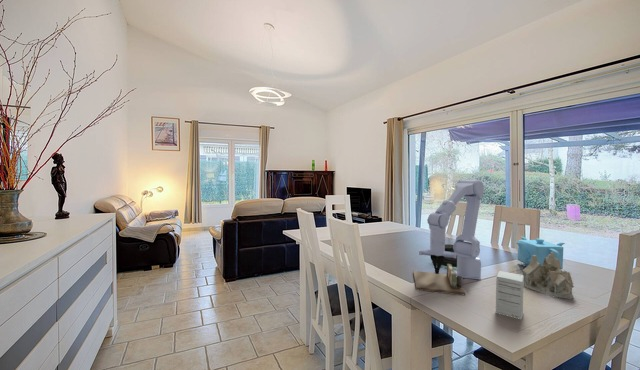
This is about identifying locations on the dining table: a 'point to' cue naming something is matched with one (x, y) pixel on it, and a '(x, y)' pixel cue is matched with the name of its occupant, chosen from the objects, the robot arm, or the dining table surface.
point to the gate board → (437, 283)
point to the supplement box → (509, 294)
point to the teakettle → (538, 250)
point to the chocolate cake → (448, 259)
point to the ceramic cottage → (548, 277)
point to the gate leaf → (451, 275)
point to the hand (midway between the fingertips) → (436, 273)
